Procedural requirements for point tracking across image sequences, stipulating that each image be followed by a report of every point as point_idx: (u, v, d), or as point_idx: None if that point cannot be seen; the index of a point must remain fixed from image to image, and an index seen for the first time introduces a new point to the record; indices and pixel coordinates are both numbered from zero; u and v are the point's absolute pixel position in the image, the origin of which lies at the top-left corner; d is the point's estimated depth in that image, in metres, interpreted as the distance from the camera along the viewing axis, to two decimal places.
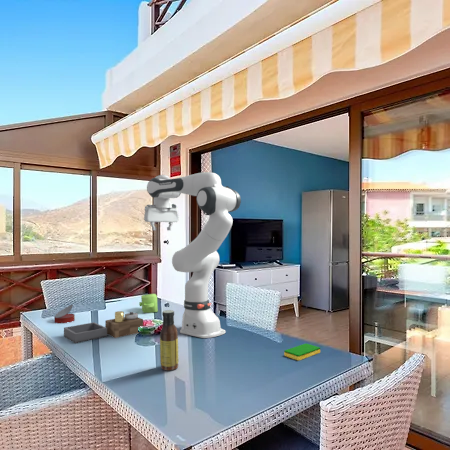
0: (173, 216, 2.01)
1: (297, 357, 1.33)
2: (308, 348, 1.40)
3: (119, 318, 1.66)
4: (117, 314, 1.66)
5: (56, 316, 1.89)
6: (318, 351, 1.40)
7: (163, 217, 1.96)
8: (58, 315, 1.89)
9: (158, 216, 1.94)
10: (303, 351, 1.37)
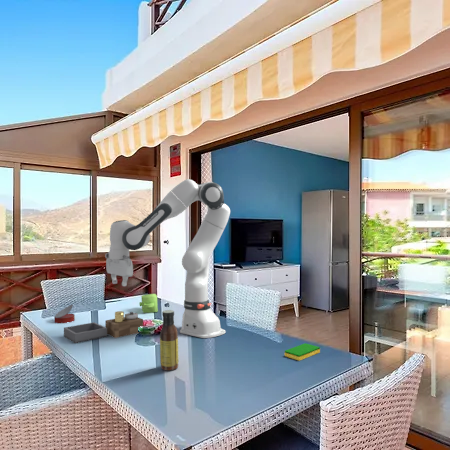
0: None
1: (298, 357, 1.33)
2: (308, 348, 1.40)
3: (119, 318, 1.66)
4: (117, 314, 1.66)
5: (56, 316, 1.89)
6: (318, 351, 1.41)
7: None
8: (58, 315, 1.89)
9: None
10: (303, 351, 1.37)
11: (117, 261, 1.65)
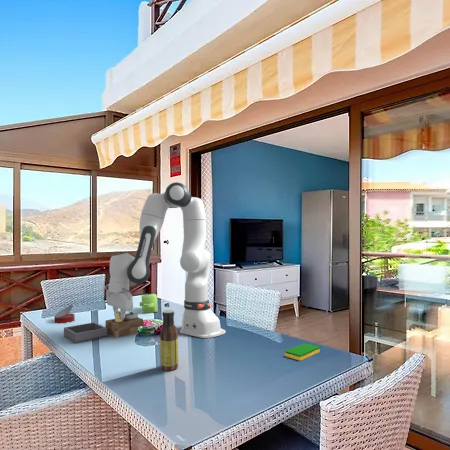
0: None
1: (298, 357, 1.33)
2: (308, 348, 1.40)
3: (119, 318, 1.66)
4: (117, 314, 1.66)
5: (56, 316, 1.89)
6: (318, 351, 1.41)
7: None
8: (58, 315, 1.89)
9: None
10: (304, 351, 1.37)
11: (117, 294, 1.65)
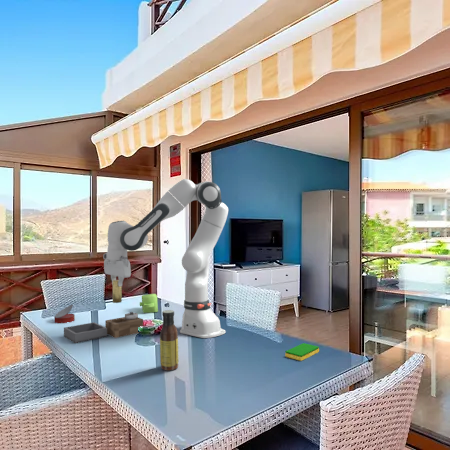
0: None
1: (299, 357, 1.33)
2: (308, 348, 1.40)
3: (116, 286, 1.66)
4: (115, 282, 1.66)
5: (56, 316, 1.89)
6: (317, 350, 1.41)
7: None
8: (58, 315, 1.89)
9: None
10: (304, 351, 1.37)
11: (115, 262, 1.65)
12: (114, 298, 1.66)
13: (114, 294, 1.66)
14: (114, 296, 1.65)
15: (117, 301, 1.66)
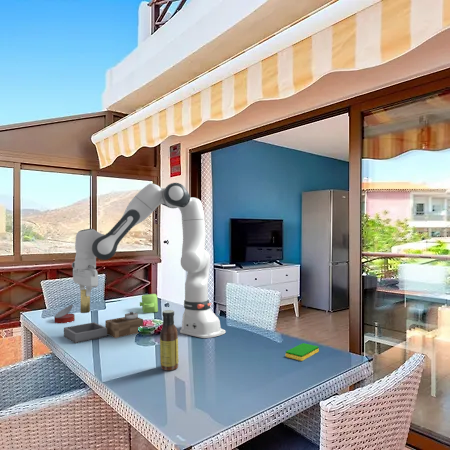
0: None
1: (300, 357, 1.33)
2: (308, 348, 1.40)
3: (84, 296, 1.61)
4: (82, 292, 1.61)
5: (56, 316, 1.89)
6: (317, 350, 1.41)
7: None
8: (58, 315, 1.89)
9: None
10: (304, 351, 1.37)
11: (82, 271, 1.60)
12: (82, 308, 1.61)
13: (82, 304, 1.61)
14: (82, 306, 1.61)
15: (85, 311, 1.61)
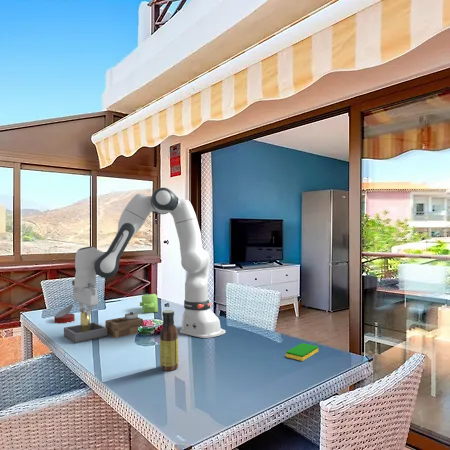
0: None
1: (301, 357, 1.32)
2: (307, 348, 1.40)
3: (84, 319, 1.61)
4: (82, 314, 1.61)
5: (56, 316, 1.89)
6: (317, 350, 1.42)
7: None
8: (58, 315, 1.89)
9: None
10: (305, 351, 1.37)
11: (82, 289, 1.60)
12: (82, 331, 1.61)
13: (82, 327, 1.61)
14: (82, 329, 1.61)
15: None
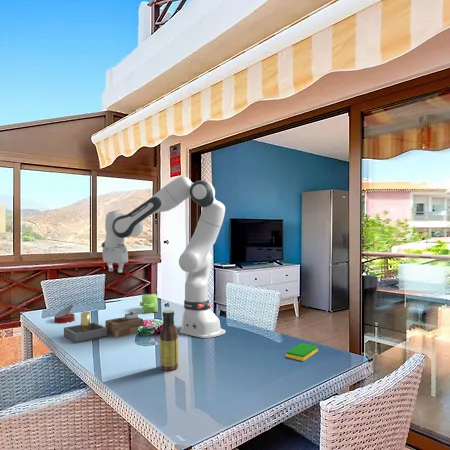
0: None
1: (302, 358, 1.32)
2: (307, 348, 1.41)
3: (84, 319, 1.61)
4: (83, 315, 1.61)
5: (56, 316, 1.89)
6: (316, 350, 1.42)
7: None
8: (58, 315, 1.89)
9: None
10: (305, 351, 1.37)
11: (113, 249, 1.75)
12: (82, 331, 1.61)
13: (82, 327, 1.61)
14: (82, 330, 1.61)
15: None
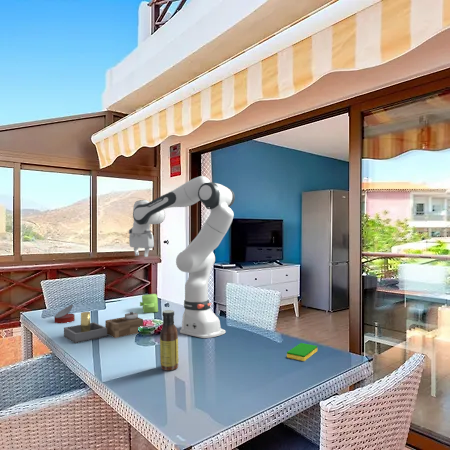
0: None
1: (302, 358, 1.32)
2: (307, 347, 1.41)
3: (84, 319, 1.61)
4: (83, 315, 1.61)
5: (56, 316, 1.89)
6: (316, 350, 1.42)
7: None
8: (58, 315, 1.89)
9: None
10: (305, 351, 1.37)
11: (140, 235, 1.91)
12: (82, 331, 1.61)
13: (82, 327, 1.61)
14: (82, 330, 1.61)
15: None
